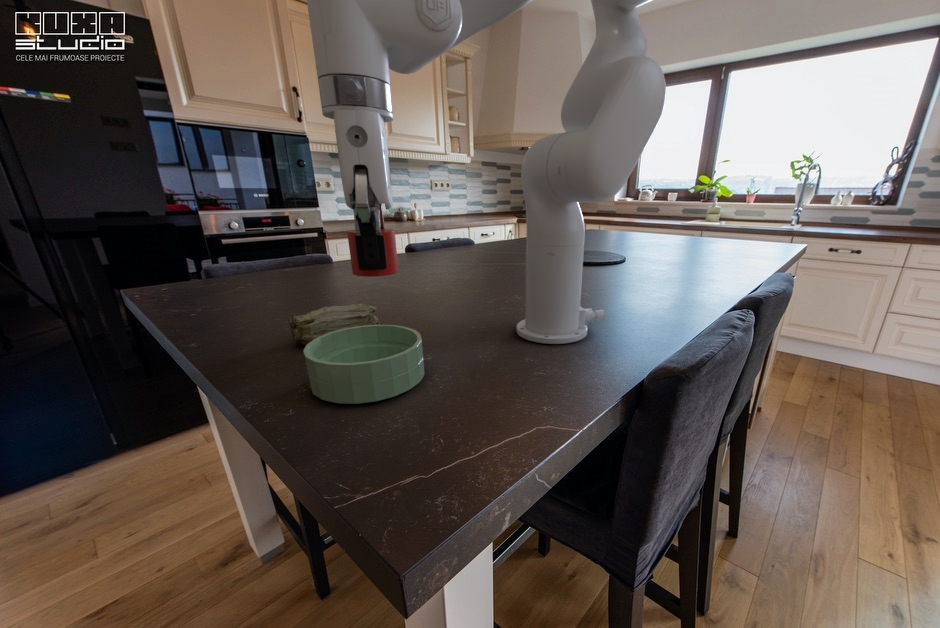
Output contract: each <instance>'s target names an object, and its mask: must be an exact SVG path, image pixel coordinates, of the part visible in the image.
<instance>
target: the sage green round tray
mask: <svg viewBox="0 0 940 628" xmlns="http://www.w3.org/2000/svg"><path fill="white" fill-rule="evenodd" d="M302 353H303V357H304V363H305V366H306V367H305V369H306V372H307V377H308V382H309V388H310V390H311V393H312V395H313V396H315V397H317V398H319V399H320V400H322V401H326V402H330V403H334V404H347V405H348V404H349V405H350V404H351V405H352V404H353V405H358V404H367V403H375V402H379V401H383V400H386V399H391V398H393V397H396V396H399V395H401V394H403V393H405V392H408V391H410V390H411V389H413V388H414V387H415V386H417V385H418V384H419V383H421V381H422V380H423V378H424V377H425V376H426V375H425V374H426V373H425V372H426V371H425V361H424V349H423V340H422V334H421V333H420V332H419V331H417V330H416V329H413V328H411V327H407V326H403V325H396V324H380V325H365V326H357V327H351V328H345V329H341V330H337V331H334V332H330V333H327V334H325V335H322V336H320V337H317V338H315V339H314V340H312V341H311V342H309V343H308V344H307V345H305V346H304V348H303V350H302Z"/></svg>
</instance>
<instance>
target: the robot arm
mask: <svg viewBox="0 0 940 628" xmlns="http://www.w3.org/2000/svg"><path fill="white" fill-rule="evenodd" d="M651 1H652V0H590V2H591V7H592V11H593V16H594V23H595V32H596V33H595V38H594V40H593V44H592V46H591V48H590V50H589V51H588V54H587V56H586V57H585V60H584V61H583V63H582V65H581V67H580V68H579V71H578V72H577V74H576V76H575V78H574V80H573V81H572V83H571V85H570V86H569V89H568V90H567V92H566V94H565V97H564V99H563V102H562V106H561V110H560V121H561V126H562V128H563V129H564V132H559V133H555V134H550V135H547V136H543V137H541V138H539V139H538V140H536V141H535V142H533V143H532V144H531V145H530V146H529V148H528V149H527V151H526V152H525V154H524V156H523V159H522V163H521V169H520V177H521V179H520V180H521V185H522V192H523V199H524V205H525V206H524V207H525V218H526V219H525V220H526V221H525V222H526V225H525V226H526V227H525V229H526V231H525V232H526V233H525V234H526V235H525V236H526V241H525V246H526V247H525V305H524V307H525V311H524V318H523V319H522V320H520V321H519V322H517V324H516V334H517V335H518V336H519V337H520V338H522V339H524V340H526V341H530V342H534V343H537V344H545V345H564V344H572V343H576V342H579V341H581V340H583V339H585V338H586V337H587V335H588V326H587V325H586V324H589V323H590V322H604V321H605V320H606V317H607V315H606V311H605V310H604V309H599V310H598V309H597V310H593V308H590V307H589V308H584V307H582V306H581V299H582V286H583V285H582V284H583V266H584V252H585V242H586V241H585V239H586V232H585V231H586V227H585V220H584V215H583V213H582V209H581V206H580V203H586V204H587V203H588V204H589V203H602V202H605V201H608V200H610V199H612V198H613V197H615V196H616V195H617V194H619V192H620V191H621V190H622V188H623V187H624V186H625V184H626V183H627V181H628V180H629V178H630V176H631V174H632V172H634V169H635V167H636V165H637V163H638V162H639V160H640V158H641V157H642V154H643V153H644V151H645V149H646V147H647V146H648V144H649V141H650V140H651V138H652V136H653V135H654V132H655V131H656V129H657V127H658V125H659V122H660V120H661V118H662V115H663V112H664V109H665V103H666V97H667V95H666V94H667V84H666V83H667V82H666V78H665V75H664V74H665V73H664V71H663V69H662V67H661V66H660V64H659V63H658V62H657V61H656V60H654V59H653V58H652V57H649V56H648V52H649V47H648V45H649V44H648V39H647V36H646V33H645V31H644V29H643V27H642V23H641V20H640V17H639V12H638V8H639V7H641V6H643V5H644V4H647V3H650V2H651ZM532 2H534V0H306V6H307V13H308V19H309V20H308V21H309V26H310V33H311V41H312V47H313V48H312V49H313V55H314V63H315V69H316V76H317V84H318V91H319V98H320V106H321V112H322V113H321V114H322V116H323V117H325V118H328V119H330V120H333V122H334V123H333V124H334V133H335V140H336V149H337V157H338V164H339V172H340V178H341V184H342V190H343V197H344V202H345V205H346V206H347V207H348V208H349V209H350V210H353V219H354V220H353V221H354V230H355V233H356V236H355V242H356V250H357V258H358V266H359V269H360V270H385V269H386V268H387V262H386V252H385V242H384V235H381V229H386V228H385V219H384V211H383V209H384V208H385V210H386V211H387V210H390V209H391V208H393V206H394V199H393V190H392V178H391V168H390V167H391V166H390V156H389V146H388V140H387V132H386V128H385V123H389V122H393V121H394V113H393V102H392V101H393V100H392V90H391V89H392V87H391V78H390V77H391V76H390V70H392V71H393V72H395V73H398V74H402V75H410V74H414V73H417V72H419V71H420V70H422V69H423V68H424V67H426V66H427V65H429V64H430V63H432V62H433V61H435V60H437V59H438V58H439V57H440V56H443V55H444V54H445V53H447V52H449V51H450V50H452V49H453V48H455V47H456V46H458V45H459V44H461V43H462V42H465V41H466V40H468V39H469V38H471V37H472V36H475V35H476V34H478V33H479V32H482V31H484V30H485V29H487V28H489V27H491V26H493V25H497V24H498V23H500V22H501V21H503V20H505V19H507V18H508V17H510V16H512V15H513V14H515V13H516V12H518V11H519V10H521V9H523V8H524V7H526V6H527V5H528V4H530V3H532ZM383 205H384V208H383Z"/></svg>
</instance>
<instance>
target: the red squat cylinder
mask: <svg viewBox="0 0 940 628" xmlns="http://www.w3.org/2000/svg"><path fill="white" fill-rule="evenodd" d="M346 234H347V241H348V250H349V257H350V264H351V272H352V275H354V276H357V277H365V278H368V277H369V278H371V277H373V278H374V277H375V278H376V277H385V276H392V275H396V274H397V273H399V264H398V253H397V241H396V231H395V229H390V228H389V229H388V228H385V229H381V235H384V242H385V252H386V262H387V268H386V269H385V270H360V269H359V266H358V258H357V250H356V242H355V236H356V233H355V229H350V230H347V231H346Z"/></svg>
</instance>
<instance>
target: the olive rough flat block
mask: <svg viewBox="0 0 940 628" xmlns="http://www.w3.org/2000/svg"><path fill="white" fill-rule="evenodd" d="M377 309H378V305H371V304H369V305H366V304H365V302H362V303H356V304H355V303H350V304H348V305H332V306H330V305H329V306H326V305H325V306H323V307H321V308H319V309H314V310H312V311H310V312H308V313H306V314H302V315H298V314H297V313H292V314H291V315H290V318H289V319H288V324H289V327H290V336H291V338H293V339H294V341H295V342H296V343H299V344H301V345H303V346H306V345H307V344H308V343H309V342H311V341H312V340H314V339H315V338H317V337H320V336H322V335H325V334H327V333H330V332H334V331H337V330H341V329H345V328H351V327H357V326H365V325H381V322H379V321H380V320H379V317H378V316H377V315H373V313H375V312H376V311H377Z"/></svg>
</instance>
